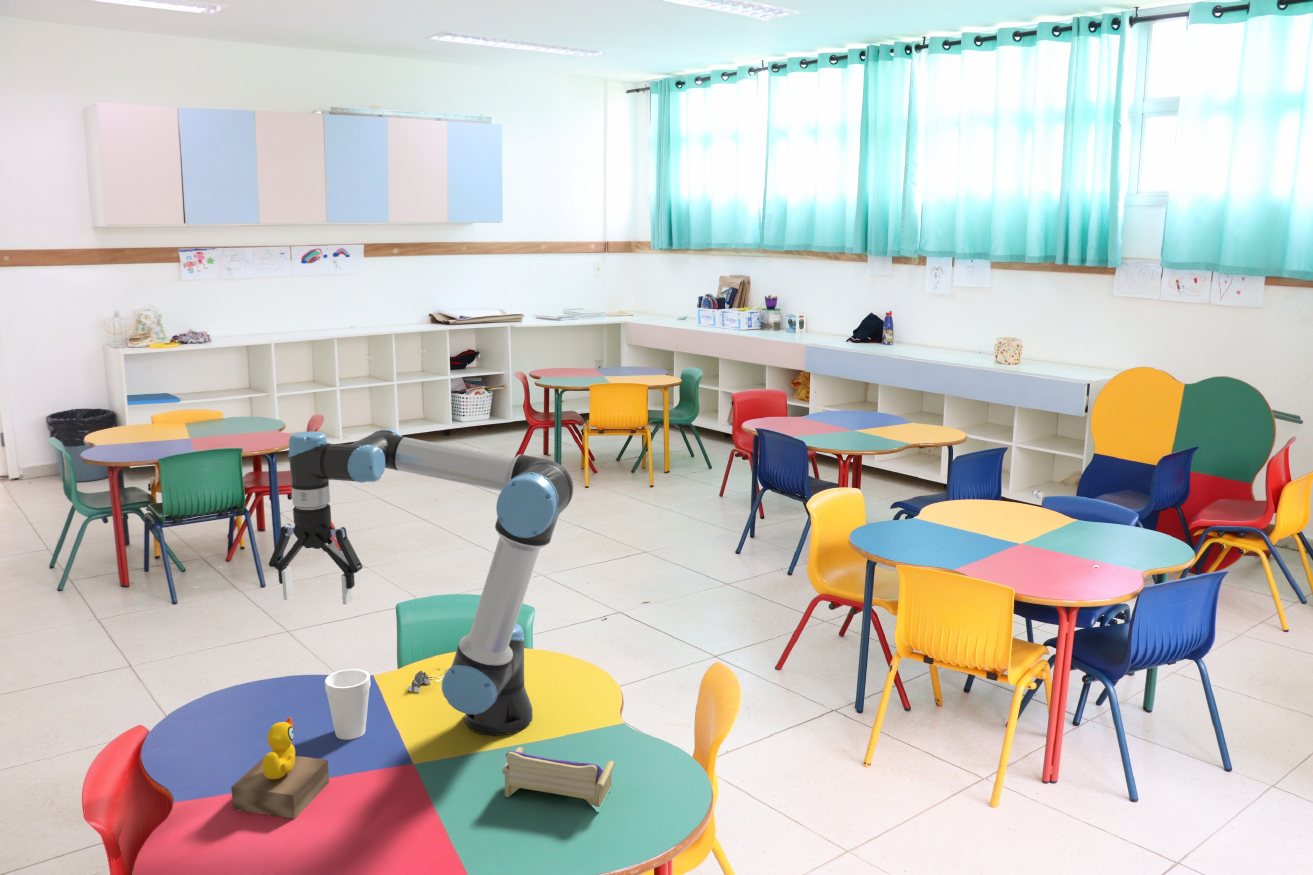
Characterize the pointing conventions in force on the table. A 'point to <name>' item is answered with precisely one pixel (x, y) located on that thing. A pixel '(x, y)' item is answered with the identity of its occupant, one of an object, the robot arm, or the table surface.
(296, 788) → the walnut base
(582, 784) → the toy sofa
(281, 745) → the duckling
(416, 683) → the grey toy animal
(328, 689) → the foam cup
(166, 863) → the table surface
